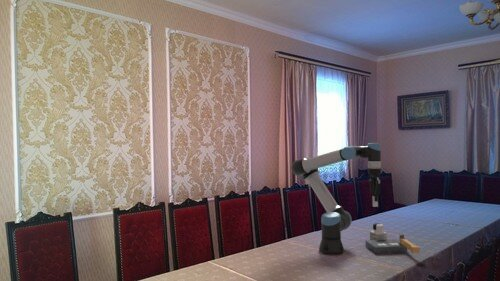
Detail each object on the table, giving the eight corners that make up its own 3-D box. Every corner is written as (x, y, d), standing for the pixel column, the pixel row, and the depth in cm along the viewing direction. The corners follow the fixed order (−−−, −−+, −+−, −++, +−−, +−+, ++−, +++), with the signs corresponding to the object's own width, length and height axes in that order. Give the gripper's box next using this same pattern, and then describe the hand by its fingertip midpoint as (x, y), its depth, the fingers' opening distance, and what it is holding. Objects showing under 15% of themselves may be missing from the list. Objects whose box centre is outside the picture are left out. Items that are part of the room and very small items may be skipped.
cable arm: (397, 242, 216) (397, 234, 216) (404, 242, 216) (404, 234, 216) (412, 253, 195) (412, 243, 195) (419, 253, 195) (419, 243, 195)
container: (369, 242, 233) (369, 223, 233) (379, 241, 235) (378, 222, 236) (377, 245, 225) (377, 225, 226) (387, 244, 228) (386, 224, 228)
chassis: (375, 253, 209) (375, 246, 209) (365, 246, 224) (365, 240, 224) (408, 252, 210) (408, 245, 210) (396, 245, 225) (396, 238, 225)
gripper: (385, 168, 205) (386, 208, 205) (375, 167, 218) (376, 204, 218) (373, 168, 204) (373, 208, 204) (364, 167, 217) (365, 204, 217)
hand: (375, 206), depth 211 cm, fingers closed
